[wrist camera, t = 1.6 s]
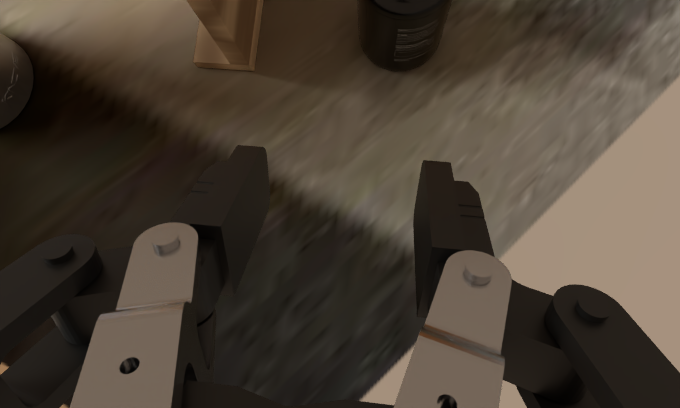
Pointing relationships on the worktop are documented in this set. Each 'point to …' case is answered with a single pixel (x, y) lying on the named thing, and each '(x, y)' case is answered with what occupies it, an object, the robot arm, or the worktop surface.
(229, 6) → the oak screen
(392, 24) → the supplement bottle
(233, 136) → the worktop surface
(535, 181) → the worktop surface
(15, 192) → the worktop surface
